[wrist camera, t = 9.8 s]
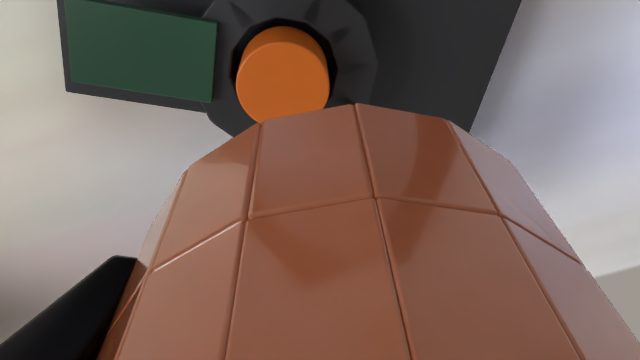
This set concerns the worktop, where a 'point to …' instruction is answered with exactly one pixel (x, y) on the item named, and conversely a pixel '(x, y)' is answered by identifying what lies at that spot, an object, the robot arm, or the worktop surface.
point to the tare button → (282, 74)
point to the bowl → (360, 253)
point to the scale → (348, 52)
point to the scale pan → (141, 49)
